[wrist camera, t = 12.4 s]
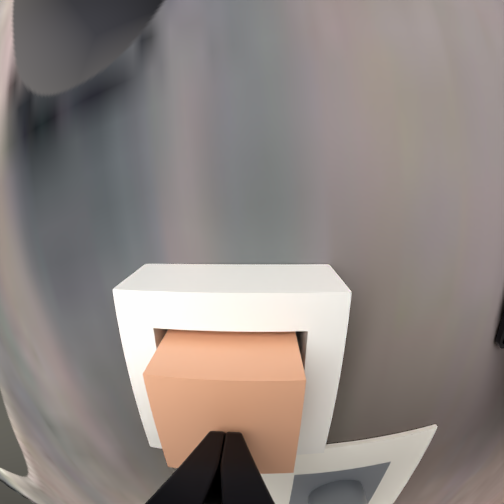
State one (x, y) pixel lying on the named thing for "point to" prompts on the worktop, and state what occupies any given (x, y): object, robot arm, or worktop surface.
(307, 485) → the paper sheet
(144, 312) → the button housing
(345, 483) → the grey rounded cylinder
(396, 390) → the worktop surface
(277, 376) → the button cap
